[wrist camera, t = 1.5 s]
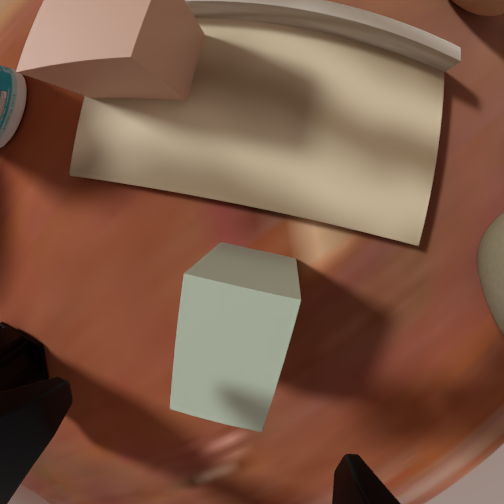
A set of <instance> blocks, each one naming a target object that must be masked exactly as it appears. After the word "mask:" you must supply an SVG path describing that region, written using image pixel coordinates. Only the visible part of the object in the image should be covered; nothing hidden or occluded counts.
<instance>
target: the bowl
mask: <svg viewBox="0 0 504 504" xmlns="http://www.w3.org/2000/svg"><path fill="white" fill-rule="evenodd" d="M477 263H478V273H479V278H480V282H481V286H482V290H483V293H484V296H485V299H486V302H487V304H488V307H489V309H490V311H491V313H492V315H493V317H494V319H495V321H496V323H497V325H498V327H499V329H500V330H501V332H502V334H503V335H504V212H503V213H502V214H501V215H500V216H498V217H497V218H496V219H495V220H494V221H493V223H492V224H491V225H490V226H489V227H488V228H487V230H486V231H485V233H484V235H483V237H482V239H481V242H480V246H479V250H478V257H477Z"/></svg>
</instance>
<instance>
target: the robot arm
mask: <svg viewBox="0 0 504 504" xmlns="http://www.w3.org/2000/svg"><path fill="white" fill-rule="evenodd" d="M71 404H72V394H71V388H70V383H69V381H67V380H65V379H63V378H61V377H55V378H51V379H48V374H47V368H46V362H45V356H44V349H43V346H42V345H41V344H40V343H39V342H37V341H35V340H33V339H32V338H30V337H28V336H26V335H24V334H22V333H21V332H19V331H17V330H15V329H14V328H12V327H10V326H8V325H7V324H5V323H3V322H1V323H0V504H7V503H8V502H9V500H10V499H11V497H12V496H13V494H14V493H15V491H16V490H17V488H18V487H19V485H20V484H21V482H22V481H23V479H24V478H25V476H26V475H27V473H28V472H29V471H30V469H31V468H32V466H33V465H34V463H35V462H36V460H37V459H38V458H39V456H40V455H41V453H42V452H43V451H44V449H45V448H46V446H47V445H48V444H49V442H50V441H51V439H52V438H53V436H54V435H55V433H56V431H57V429H58V428H59V426H60V424H61V422H62V420H63V419H64V417H65V415H66V413H67V411H68V410H69V408H70V406H71ZM332 504H400V503H399V501H398V500H397V499H396V498H395V497H394V496H393V495H392V493H391V492H390V491H389V490H388V489H387V488H386V487H385V485H384V484H383V483H382V482H381V481H380V480H379V478H378V477H377V476H376V475H375V474H374V473H373V471H372V470H371V469H370V468H369V467H368V466H367V464H366V463H365V462H364V461H363V460H362V458H361V457H360V456H359V455H357V454H346V455H344V457H343V458H342V460H341V461H340V463H339V465H338V466H337V468H336V470H335V473H334V486H333V500H332Z"/></svg>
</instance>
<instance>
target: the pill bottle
mask: <svg viewBox="0 0 504 504" xmlns="http://www.w3.org/2000/svg"><path fill="white" fill-rule="evenodd" d="M26 95H27V89H26V82H25V79H24V77H23V75H22V74H19V73H16V70H15V69H11V68H8V67H5V66H1V65H0V148H1V147H3V146H4V145H5V144H6V143H7V142H8V141H9V140H10V139H11V137H12V136H13V135H14V133H15V131H16V129H17V128H18V125H19V123H20V121H21V118H22V115H23V112H24V108H25V103H26Z"/></svg>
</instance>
